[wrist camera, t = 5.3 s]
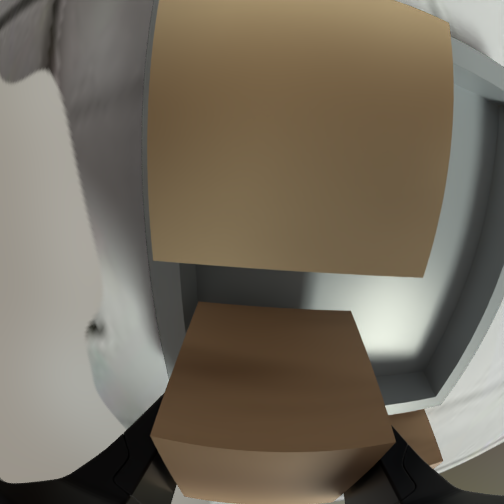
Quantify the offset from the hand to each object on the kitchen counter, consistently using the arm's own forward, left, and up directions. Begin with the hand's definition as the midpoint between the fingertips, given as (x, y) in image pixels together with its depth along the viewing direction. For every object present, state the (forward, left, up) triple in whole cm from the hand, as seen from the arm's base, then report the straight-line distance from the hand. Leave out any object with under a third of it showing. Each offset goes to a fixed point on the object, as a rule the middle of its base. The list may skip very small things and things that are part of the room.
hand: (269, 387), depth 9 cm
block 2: (0, 0, -1) cm, 1 cm away
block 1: (+8, 0, -3) cm, 9 cm away
